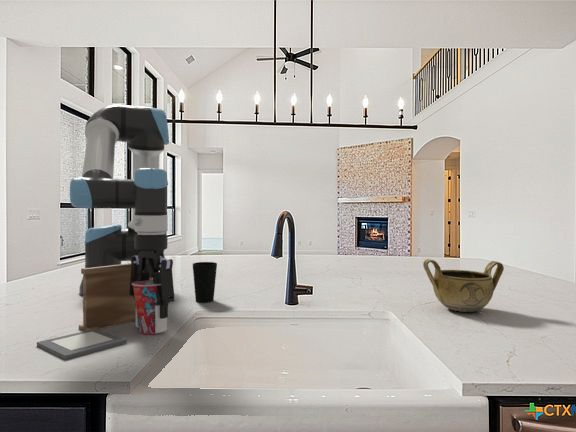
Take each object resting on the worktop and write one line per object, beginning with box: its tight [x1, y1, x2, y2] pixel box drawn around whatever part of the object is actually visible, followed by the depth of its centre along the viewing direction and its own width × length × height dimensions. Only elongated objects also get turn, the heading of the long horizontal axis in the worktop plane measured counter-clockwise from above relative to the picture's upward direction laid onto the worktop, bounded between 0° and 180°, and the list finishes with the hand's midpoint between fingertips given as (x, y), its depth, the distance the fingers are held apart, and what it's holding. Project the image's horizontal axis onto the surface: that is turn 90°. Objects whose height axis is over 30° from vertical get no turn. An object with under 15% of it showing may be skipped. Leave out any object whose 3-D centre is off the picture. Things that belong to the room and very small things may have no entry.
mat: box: [36, 329, 128, 360], centre depth 90 cm, size 13×13×1 cm
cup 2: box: [192, 261, 218, 304], centre depth 133 cm, size 8×8×12 cm
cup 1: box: [132, 279, 161, 336], centre depth 100 cm, size 9×8×12 cm
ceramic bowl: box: [422, 258, 505, 313], centre depth 123 cm, size 22×17×15 cm
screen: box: [78, 262, 152, 332], centre depth 106 cm, size 6×19×15 cm, turn 143°
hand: (151, 328), depth 100 cm, fingers open, 7 cm apart
